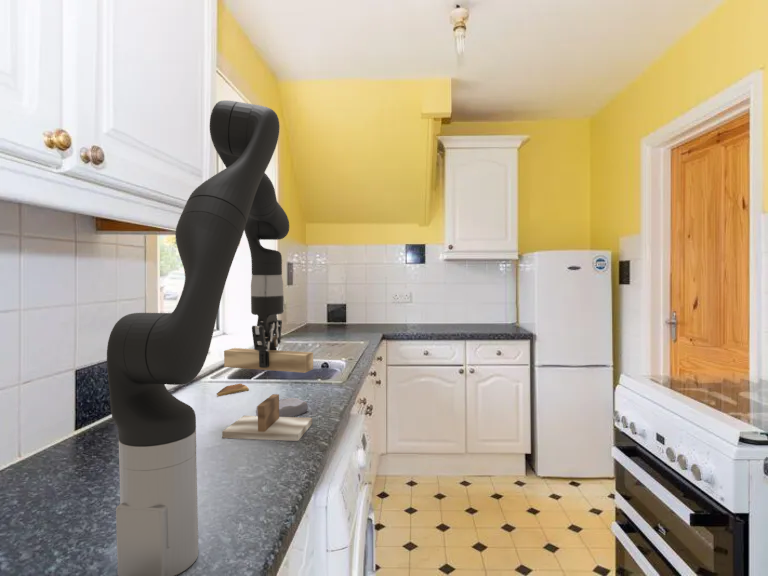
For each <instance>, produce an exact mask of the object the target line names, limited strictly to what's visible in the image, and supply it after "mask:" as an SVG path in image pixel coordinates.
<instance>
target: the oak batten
mask: <svg viewBox="0 0 768 576" xmlns="http://www.w3.org/2000/svg"><path fill="white" fill-rule="evenodd" d="M223 358H224V359H223V360H224V361H223V362H224V363H223V365H224V368H233V369H236V368H237V369H246V370H247V369H248V370H261V371H276V372H287V373H288V372H291V373H304V374H305V373H307V372H310V371H312V370H314V352H313V351H297V350H296V351H295V350H280V349H279V350H269V367H267V368H261V367H260V366H259V352H258V350H255V349H254V348H241V347H239V348H238V347H234V348H229V349H225V350H224V351H223Z"/></svg>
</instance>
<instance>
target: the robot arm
mask: <svg viewBox="0 0 768 576" xmlns="http://www.w3.org/2000/svg"><path fill="white" fill-rule="evenodd" d="M280 127H281V126H280V120H279V117H278V115H277V113H276V112H275V110H273V109H272V108H270V107H267V106H264V105H259V104H253V103H252V104H251V103H248V102H247V103H246V102H241V101H235V100H220V101H218V102H216V103H215V105H214V106H213V108H212V110H211V113H210V117H209V134H210V138H211V142H212V144H213V147H214V149H215V151H216V153H217V155H218V156H219V158H220V159H221V161H222V163H223V164H224V166H225V168H224V169H222V170H221V171H219V172H217V173H216V174H214V175H213V176H210V178H208V179H207V180H205V181H204V182H203V183H201V184H199V186H197V187H196V188H195V189H194V190H193V191H192V192H191V194H190V195H189V197H188V199H187V201H186V203H185V205H184V207H183V210H182V212H181V215H180V217H179V219H178V221H177V225H176V227H175V243H176V247H177V251H178V255H179V257H180V261H181V264H182V267H183V270H184V284H183V288H182V291H181V294H180V297H179V300H178V302H177V304H176V307H175V308H174V310H173V311H172V312H170V313H169V312H134V313H129V314H126V315H124V316H122V317H121V318H119V320H117V322H115V324H114V326H113V327H112V329H111V332H110V334H109V338H108V341H107V347H106V368H107V379H108V380H107V381H108V382H107V383H108V390H109V403H110V413H111V418H112V419H113V422H114V424H115V426H116V428H117V431H118V458H119V461H118V462H119V463H118V464H119V465H118V466H119V468H118V469H119V500H120V502H119V505H117V506H116V508H115V521H116V522H115V524H116V526H115V527H116V557H117V558H116V561H117V576H177V575H179V574H181V573H183V572H184V571H186V570H188V568H190V567H191V566H192V565H193V564H195V561H197V558H199V518H198V515H199V514H198V512H199V511H198V506H199V505H198V470H197V469H198V468H197V467H198V465H197V463H198V462H197V429H196V428H197V418H196V411H195V410H194V409H193V407H192V406H190V405H189V404H188V403H185V402H183V401H182V400H181V399H178V398H177V397H176V396H174V395H173V394H172V393H171V392H170V391H169V390H168V389H167V386H166V385H168V386H169V385H171V386H172V385H173V386H174V385H175V386H181V385H186V384H189V383H191V382H192V381H193V380H195V379H196V378H197V376H198V375H199V373H201V371H202V369H203V367H204V364H205V362H206V360H207V357H208V354H209V351H210V347H211V343H212V339H213V335H214V331H215V327H216V321H217V318H218V315H219V314H218V313H219V309H220V305H221V301H222V296H223V292H224V290H225V286H226V282H227V280H228V276H229V273H230V270H231V266H232V264H233V261H234V259H235V255H236V254H237V251H238V248H239V246H240V243H241V240H242V239H243V236H244V235H243V234H245V237H246V240H247V243H248V247H249V252H250V258H251V261H250V262H251V280H250V281H251V282H250V309H251V310H250V311H251V314H252V315H255V316H256V315H257V323H256V325H252V326H251V333H252V341H253V347H254V348H253V349H255V350H258V352H259V366H260V367H261V368H267V367H269V350H277V349H278V346H279V344H281V342H282V341H281V340H282V339H281V338H282V327H283V326H282V325H283V321H282V319H278V315H282V314H283V313H284V311H285V309H284V281H283V275H282V274H283V268H282V267H283V259H282V253H281V252H280V251H278V250H275V249H271V248H266V247H263V246H262V244H261V242H260V241H261V240H263V241H265V240H266V241H268V240H271V241H272V240H273V241H278V240H279V241H280V240H283V239H284V238H286V237H287V235H288V233H289V232H290V220H289V217H288V215H287V213H286V212H285V210H284V208H283V207H282V205H280V203H279V202H278V200H277V196H276V190H275V186H274V184H273V182H272V181H271V179H270V178H269V176H268V175H267V174H266V171H267V169H268V167H269V164H270V162H271V160H272V157H273V155H274V153H275V150H276V147H277V145H278V142H279V136H280Z"/></svg>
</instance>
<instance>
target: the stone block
mask: <svg viewBox="0 0 768 576" xmlns="http://www.w3.org/2000/svg"><path fill="white" fill-rule="evenodd" d="M255 409H256V410H255V416H258V405H257V406H256V408H255ZM308 409H309V406H308V402H307V401H304V400H302V399H300V398H296V397H288V398H287V397H286V398H281V399H279V417H298V416H301V415H303V414H305V413H306V412H308Z"/></svg>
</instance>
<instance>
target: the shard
mask: <svg viewBox="0 0 768 576" xmlns="http://www.w3.org/2000/svg"><path fill="white" fill-rule="evenodd" d="M249 390H250V388H249V387H248V386H247V385H245V384H243V383H236V384H231V385H226V386H224V387H223V388H222V389H221V390H219V391H218V392H217V393H216V395H217V397H221V396H222V397H223V396H226V395H232V394H236V393H237V394H238V393H242V392H243V393H244V392H248V391H249Z"/></svg>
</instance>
